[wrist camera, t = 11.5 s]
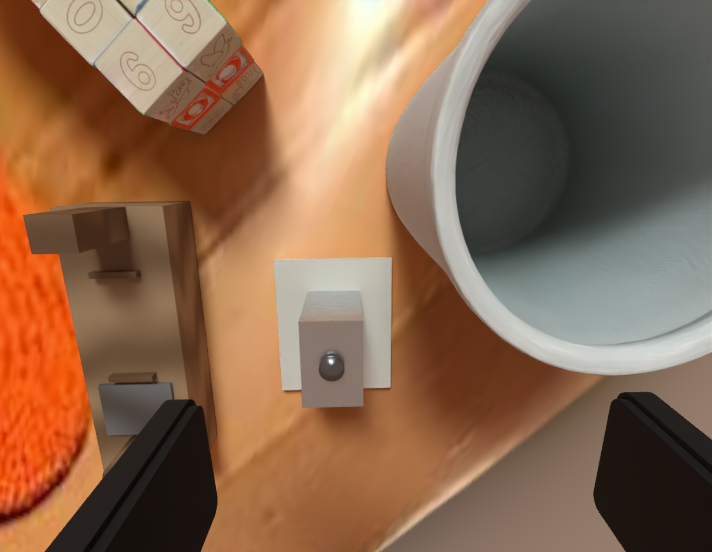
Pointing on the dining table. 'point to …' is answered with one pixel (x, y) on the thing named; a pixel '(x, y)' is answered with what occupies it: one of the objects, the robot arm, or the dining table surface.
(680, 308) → the utensil holder
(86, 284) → the plane body
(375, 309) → the pad
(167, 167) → the dining table surface
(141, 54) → the stack of blocks
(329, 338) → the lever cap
